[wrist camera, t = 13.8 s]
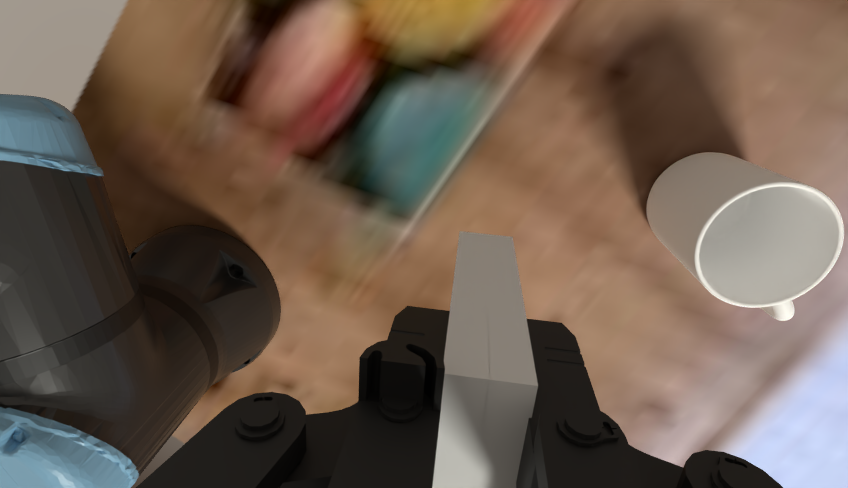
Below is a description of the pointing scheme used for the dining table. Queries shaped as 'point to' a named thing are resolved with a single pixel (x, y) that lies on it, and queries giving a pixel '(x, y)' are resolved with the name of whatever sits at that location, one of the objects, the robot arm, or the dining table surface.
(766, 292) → the cup
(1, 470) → the robot arm
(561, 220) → the dining table surface
